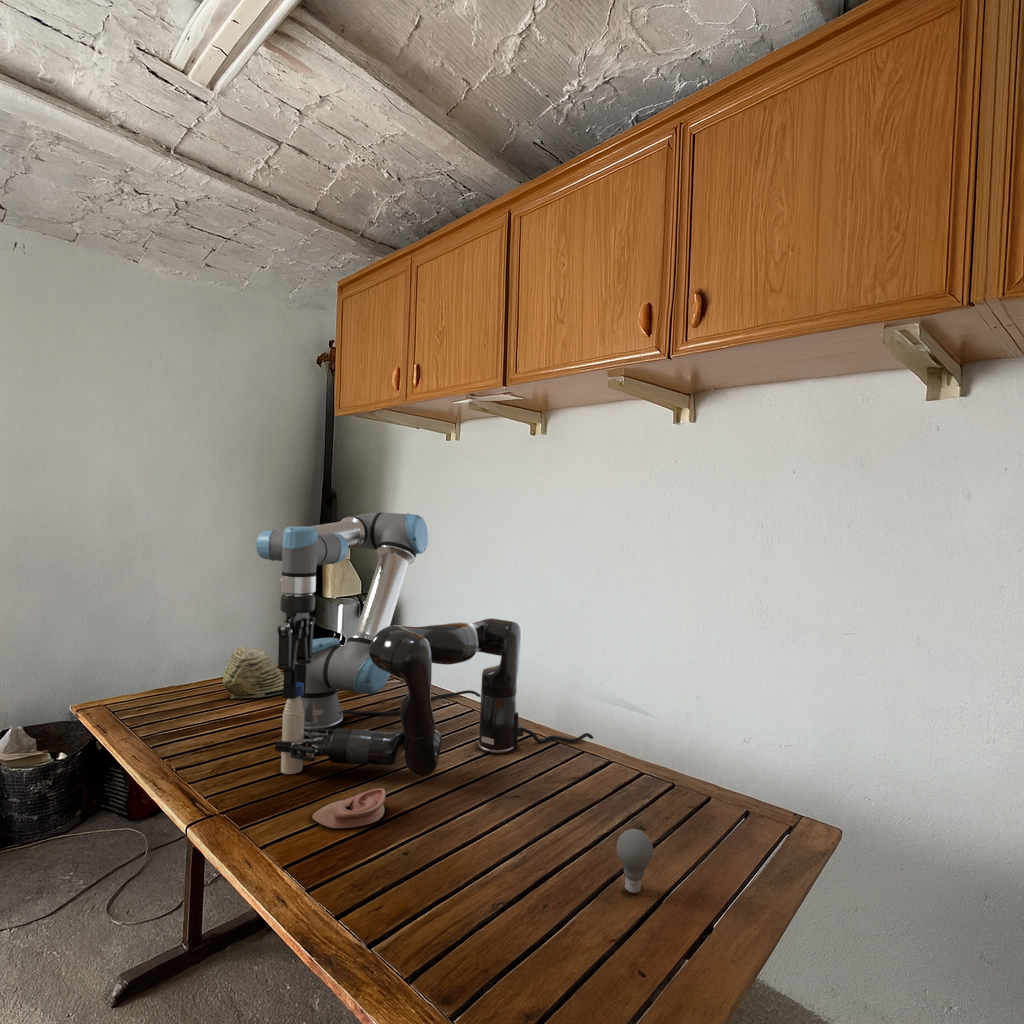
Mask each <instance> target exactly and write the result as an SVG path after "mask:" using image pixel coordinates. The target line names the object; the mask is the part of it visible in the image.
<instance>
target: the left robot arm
mask: <svg viewBox="0 0 1024 1024" xmlns="http://www.w3.org/2000/svg"><path fill="white" fill-rule="evenodd" d="M428 542H429V532H428V526H427V523H426V521H425V519H424V518H423V517H422V516H421V515H419V514H413V513H409V512H408V513H398V512H397V513H396V512H395V513H394V512H381V511H375V512H374V511H373V512H367V513H361V514H357V515H356V514H355V515H352V516H347V517H344V518H342V519H341V520H340V521H336V522H330V523H329V522H328V523H322V524H316V525H310V526H299V525H297V526H296V525H295V526H294V525H293V526H292V525H291V526H287V527H285V528H284V530H277V529H266V530H263V531H262V532H260V534H258V535H257V538H256V541H255V550H256V553H257V555H258V556H259V557H260V558H261V559H263V560H269V561H271V562H274V561H278V562H281V563H282V564H281V565H282V568H281V578H280V582H281V587H280V588H281V589H280V591H281V593H282V594H281V596H280V608H279V609H280V611H281V612H283V613H285V617H284V624H283V625H278V626H277V634H278V656H277V658H278V659H277V660H278V661H277V662H278V663H277V664H278V665H277V668H278V669H279V670H280V671H283V676H284V683H283V693H282V699H286V700H288V699H295V698H296V682H302V683H304V695H302V696H301V700H302V703H303V706H304V708H303V709H304V713H305V718H304V732H308V730H309V729H336V728H338V727H339V726H340V725H342V723H343V722H344V715H367V716H371V715H372V716H389V715H397V714H400V709H396V710H389V711H387V710H386V711H372V710H371V711H369V710H343V709H342V706H341V702H340V699H339V695H338V691H345V692H351V693H356V694H358V695H363V694H366V695H373V694H376V693H378V692H380V690H382V689H383V688H384V687H385V685H386V684H387V683H388V681H389V678H390V676H391V674H390V673H388V672H386V671H384V670H381V669H380V668H378V667H377V666H376V665H375V664H374V663H373V662H372V660H371V658H370V655H369V647H370V643H371V641H372V639H373V638H374V636H375V635H376V634H377V633H378V632H379V631H381V630H382V629H384V628H386V627H388V626H391V624H392V621H393V616H394V613H395V610H396V607H397V605H398V600H399V597H400V594H401V590H402V587H403V583H404V580H405V577H406V573H407V570H408V567H409V565H411V564H414V562H415V560H416V557H417V555H420V554H423V553H424V552H426V550H427V547H428V544H429V543H428ZM354 549H366V550H374V551H376V553H377V555H378V556H379V559H378V561H377V564H376V568H375V571H374V574H373V577H372V580H371V584H370V586H369V589H368V593H367V595H366V599H365V602H364V605H363V608H362V611H361V614H360V617H359V621H358V624H357V627H356V629H355V633H353V634H351V635H350V636H348V637H347V639H346V642H345V645H340V644H341V641H340V639H339V638H337V637H321V638H314V628H315V627H314V626H315V623H316V622H315V621H316V617H315V616H310V613H311V612H314V611H315V608H316V595H315V594H314V593H316V591H317V566H325V565H334V564H337V563H338V564H339V563H341V562H343V561H344V560H345V559H346V558H347V556H348V553H349V550H354ZM464 694H465V695H466V694H472V695H475V696H476V697H478V698H481V693H478V692H477V691H475V690H470V689H468V690H461V691H456V692H451V693H442V694H436V695H431V701H432V700H436V699H440V698H447V697H455V696H460V695H464Z"/></svg>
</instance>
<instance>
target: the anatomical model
mask: <svg viewBox="0 0 1024 1024" xmlns="http://www.w3.org/2000/svg"><path fill="white" fill-rule="evenodd" d="M386 794H387V793H386V790H385V788H381V787H380V788H374V789H370V790H367V791H364V792H360V793H358V794H355V795H353V796H351V797H348V798H346V799H342V800H337V801H333V802H331V803H327V804H326V805H324V806H322V807H320V808H318V810H316V811H314V813H312V816H311V818H312V820H313V821H315V823H318V824H319V825H322V826H323V827H326V828H329V829H348V828H350V829H351V828H358V827H363V826H367V825H370V824H373V823H375V822H377V821H379V820H381V819H382V818H383V817H384V815H385V805H384V803H385V802H386V801H385V800H386V796H387V795H386Z"/></svg>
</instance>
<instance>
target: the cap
mask: <svg viewBox="0 0 1024 1024" xmlns="http://www.w3.org/2000/svg"><path fill="white" fill-rule="evenodd" d="M302 695H304V683H302V682H296V697H300V696H302Z"/></svg>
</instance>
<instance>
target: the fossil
mask: <svg viewBox="0 0 1024 1024" xmlns="http://www.w3.org/2000/svg"><path fill="white" fill-rule="evenodd" d="M222 676H223V677H222V685H223V687H224V688H225V690H226V691H228V693H229V698H230V699H250V698H264V697H271V696H275V695H281V694H283V683H284V674H283V672H281V670H280V669H278V667H277V665H276V663H275V662H274V660H273V659H272V658H271V657H270V656H269V655H268V654H267V653H266V652H265V650H264V649H263V648H260V647H258V648H251V647H247V646H246V647H245V646H238V647H237V648H236V649H235V650H233V651H232V653H231V656H230V657H229V659H228V660H227V663H226V666H225V668H224V671H223V675H222Z"/></svg>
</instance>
